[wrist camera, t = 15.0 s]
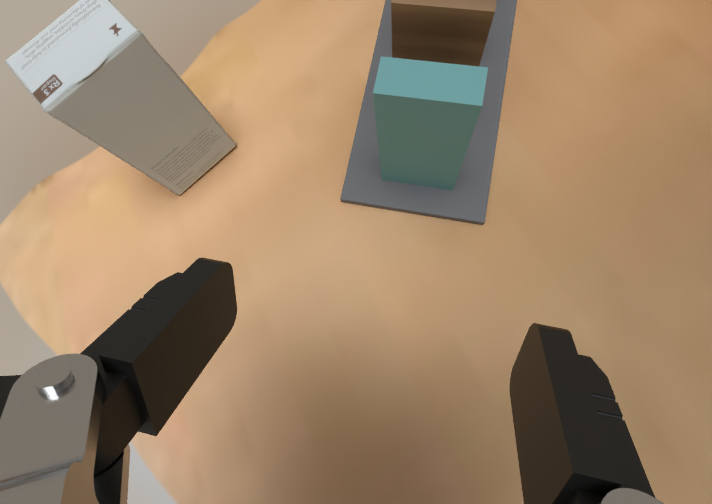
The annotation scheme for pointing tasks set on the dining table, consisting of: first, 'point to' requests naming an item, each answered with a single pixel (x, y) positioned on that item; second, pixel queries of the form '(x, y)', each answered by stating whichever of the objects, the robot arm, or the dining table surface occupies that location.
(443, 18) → the domino
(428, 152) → the domino
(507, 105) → the dining table surface
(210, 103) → the dining table surface
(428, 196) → the domino mat
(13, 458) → the robot arm
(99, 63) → the skincare box
